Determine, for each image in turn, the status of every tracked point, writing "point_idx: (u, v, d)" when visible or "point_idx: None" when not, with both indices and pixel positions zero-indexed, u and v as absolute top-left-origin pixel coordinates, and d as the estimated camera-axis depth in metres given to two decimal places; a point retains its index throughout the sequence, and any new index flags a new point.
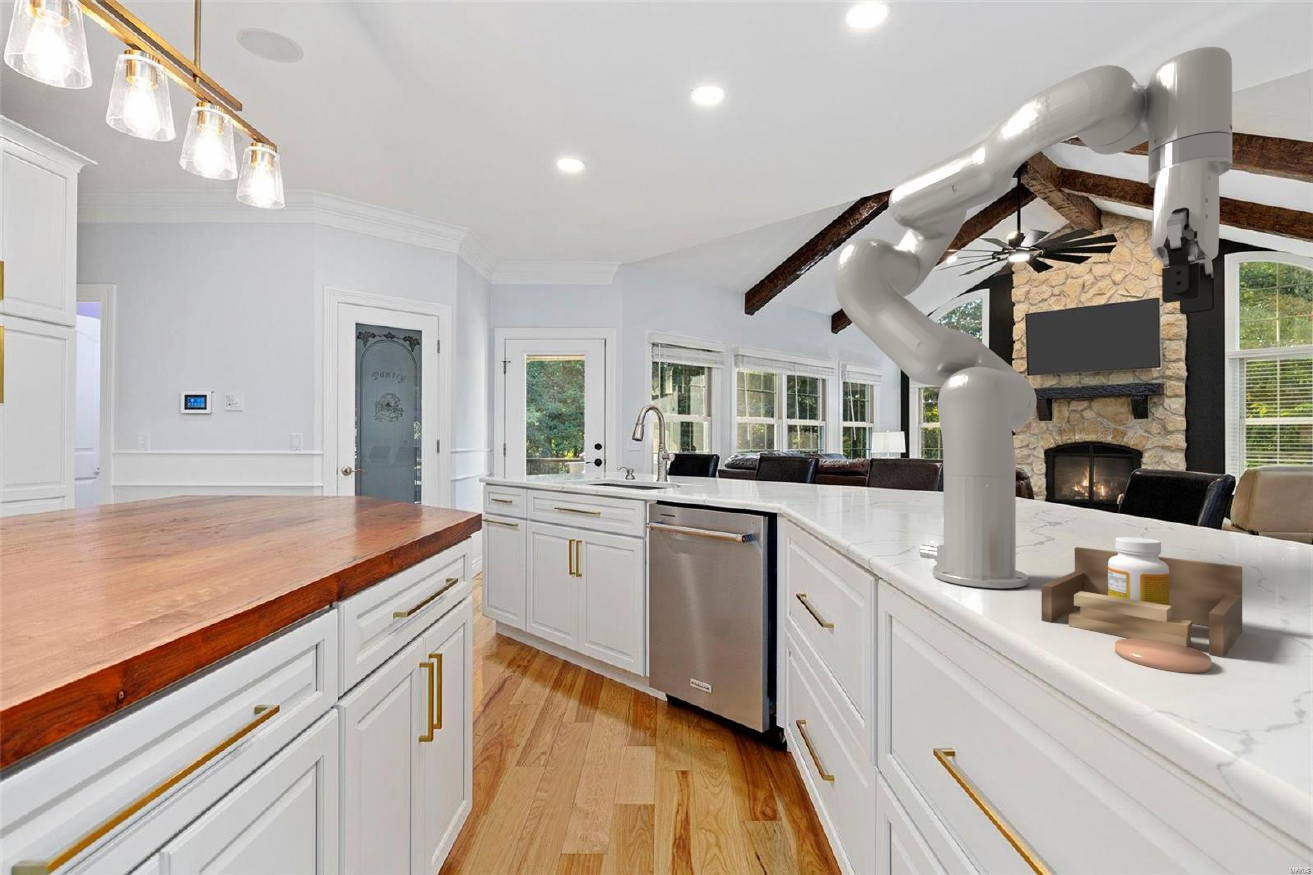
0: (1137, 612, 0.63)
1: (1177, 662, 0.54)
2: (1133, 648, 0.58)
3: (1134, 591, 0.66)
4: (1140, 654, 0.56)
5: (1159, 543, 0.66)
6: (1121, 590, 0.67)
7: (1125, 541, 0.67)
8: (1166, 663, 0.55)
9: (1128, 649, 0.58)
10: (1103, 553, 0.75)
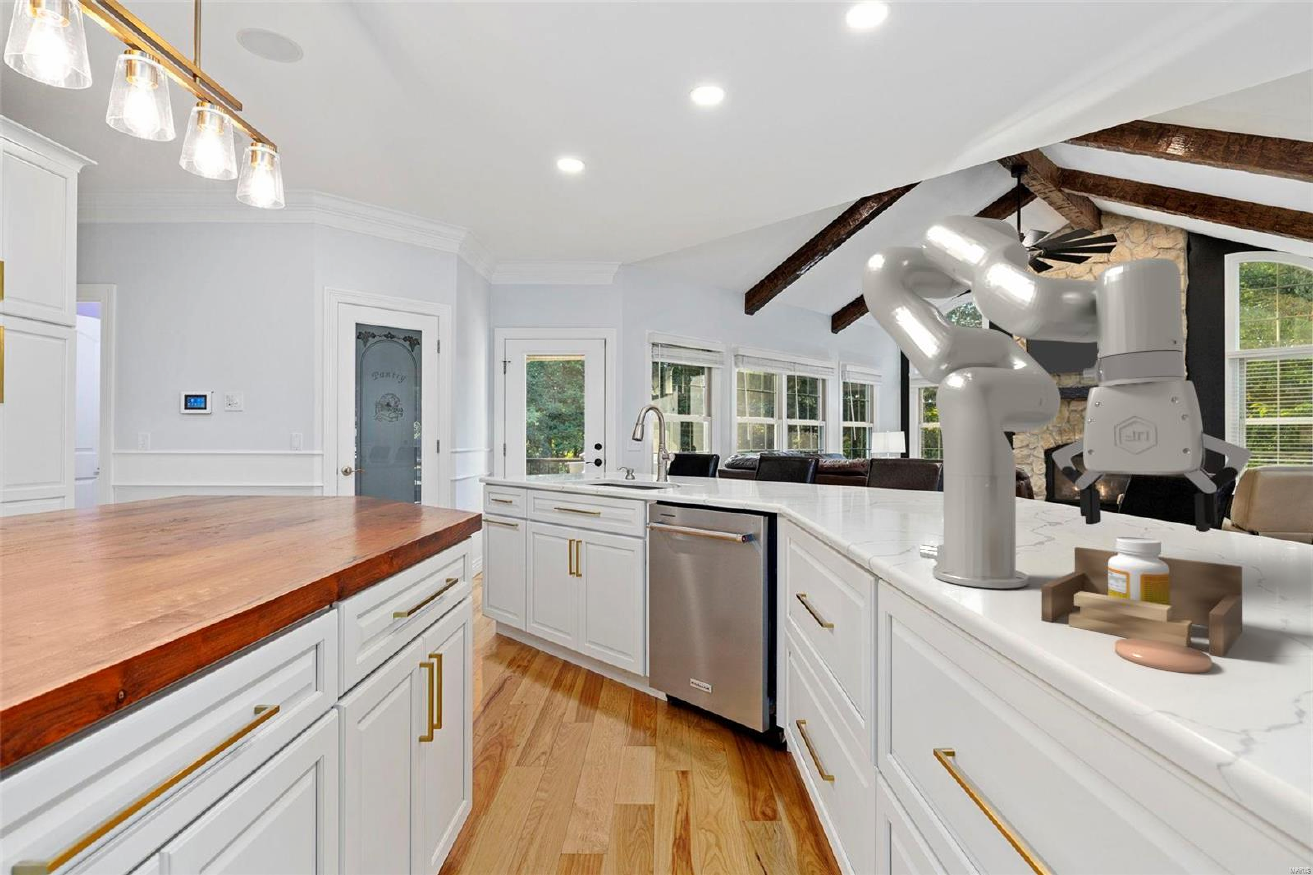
0: (1137, 612, 0.63)
1: (1177, 662, 0.54)
2: (1133, 648, 0.58)
3: (1134, 591, 0.66)
4: (1140, 654, 0.56)
5: (1159, 543, 0.66)
6: (1121, 590, 0.67)
7: (1125, 541, 0.67)
8: (1166, 663, 0.55)
9: (1128, 649, 0.58)
10: (1103, 553, 0.75)
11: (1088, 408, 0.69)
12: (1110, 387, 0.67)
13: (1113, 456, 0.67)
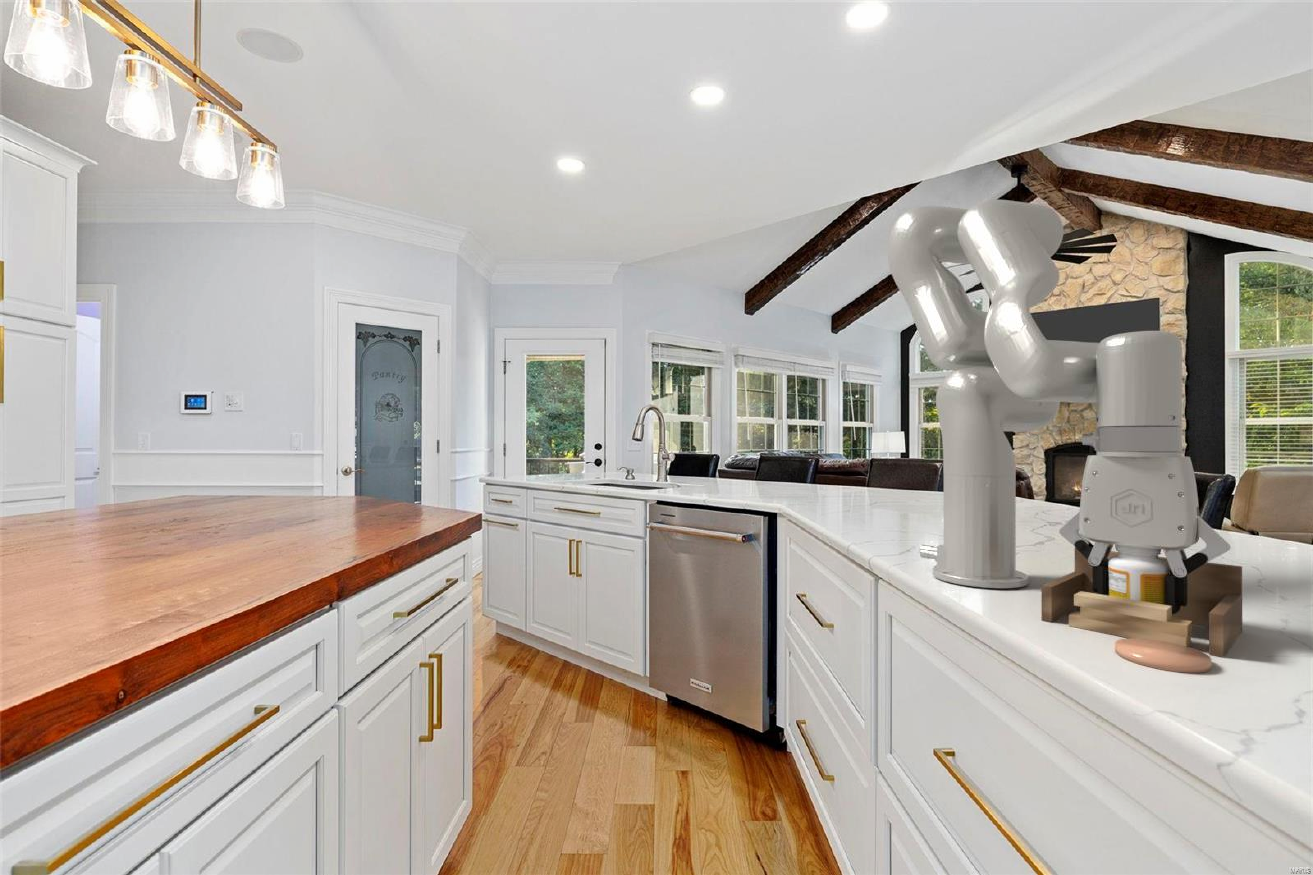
0: (1137, 612, 0.63)
1: (1177, 662, 0.54)
2: (1133, 648, 0.58)
3: (1134, 591, 0.66)
4: (1140, 654, 0.56)
5: None
6: (1121, 590, 0.67)
7: None
8: (1166, 663, 0.55)
9: (1128, 649, 0.58)
10: None
11: (1085, 476, 0.69)
12: (1108, 457, 0.68)
13: (1108, 526, 0.67)
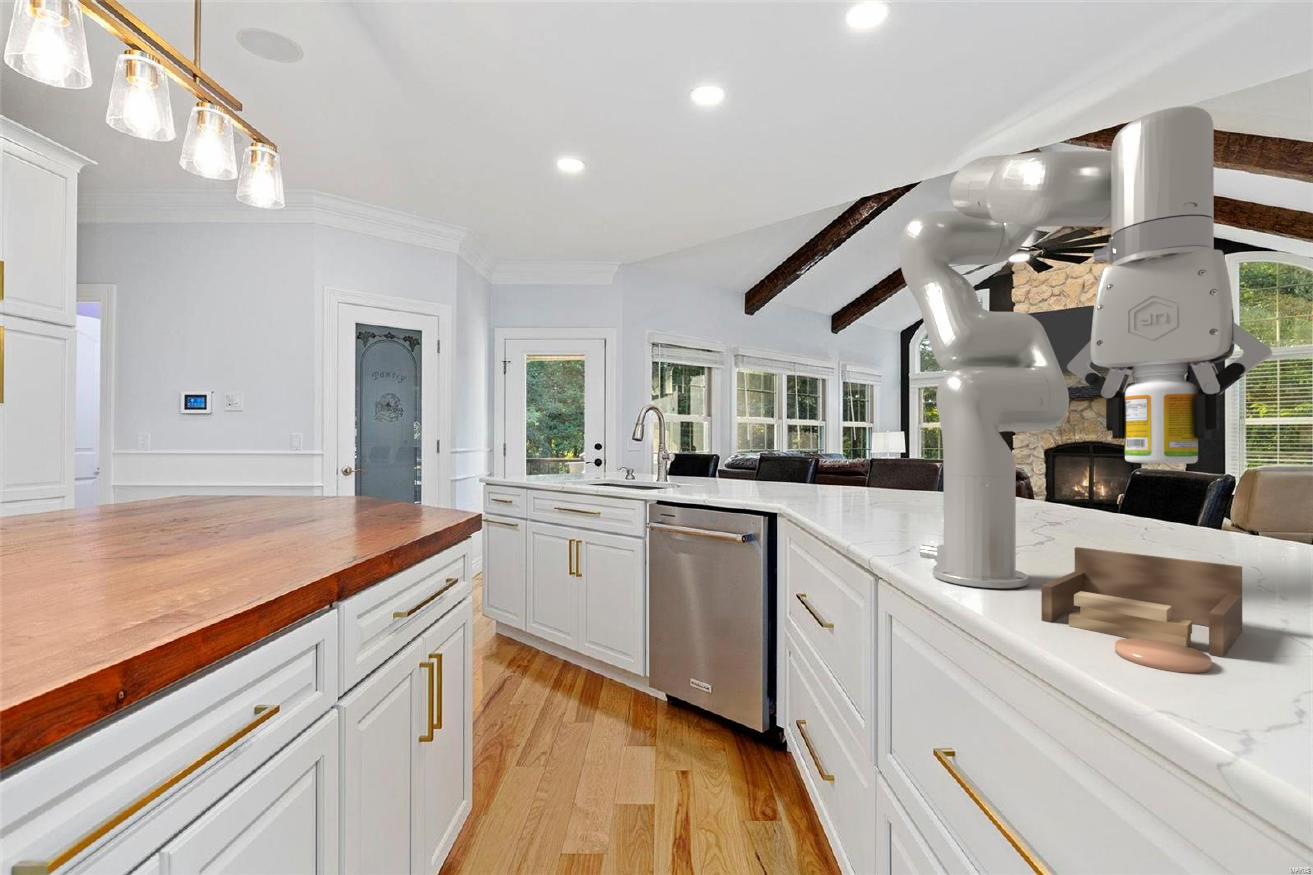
0: (1137, 612, 0.63)
1: (1177, 662, 0.54)
2: (1133, 648, 0.58)
3: (1157, 416, 0.56)
4: (1140, 654, 0.56)
5: None
6: (1141, 417, 0.57)
7: None
8: (1166, 663, 0.55)
9: (1128, 649, 0.58)
10: (1103, 553, 0.75)
11: (1098, 292, 0.59)
12: (1125, 265, 0.58)
13: (1126, 345, 0.57)
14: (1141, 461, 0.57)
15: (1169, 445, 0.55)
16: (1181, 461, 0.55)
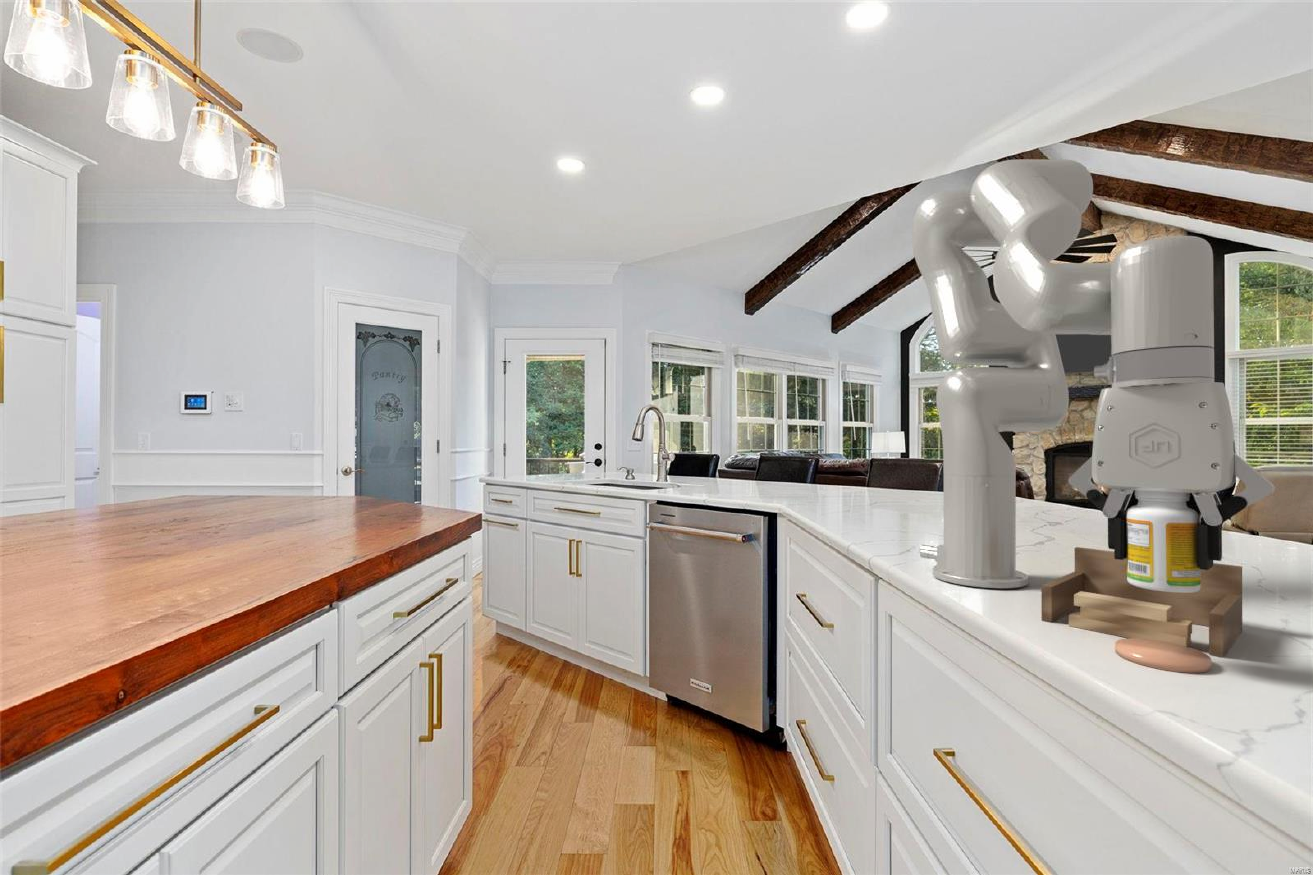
0: (1137, 612, 0.63)
1: (1177, 662, 0.54)
2: (1133, 648, 0.58)
3: (1159, 544, 0.55)
4: (1140, 654, 0.56)
5: None
6: (1143, 543, 0.57)
7: None
8: (1166, 663, 0.55)
9: (1128, 649, 0.58)
10: (1103, 553, 0.75)
11: (1099, 412, 0.59)
12: (1126, 388, 0.58)
13: (1127, 469, 0.57)
14: (1143, 587, 0.57)
15: (1171, 575, 0.55)
16: (1184, 591, 0.55)
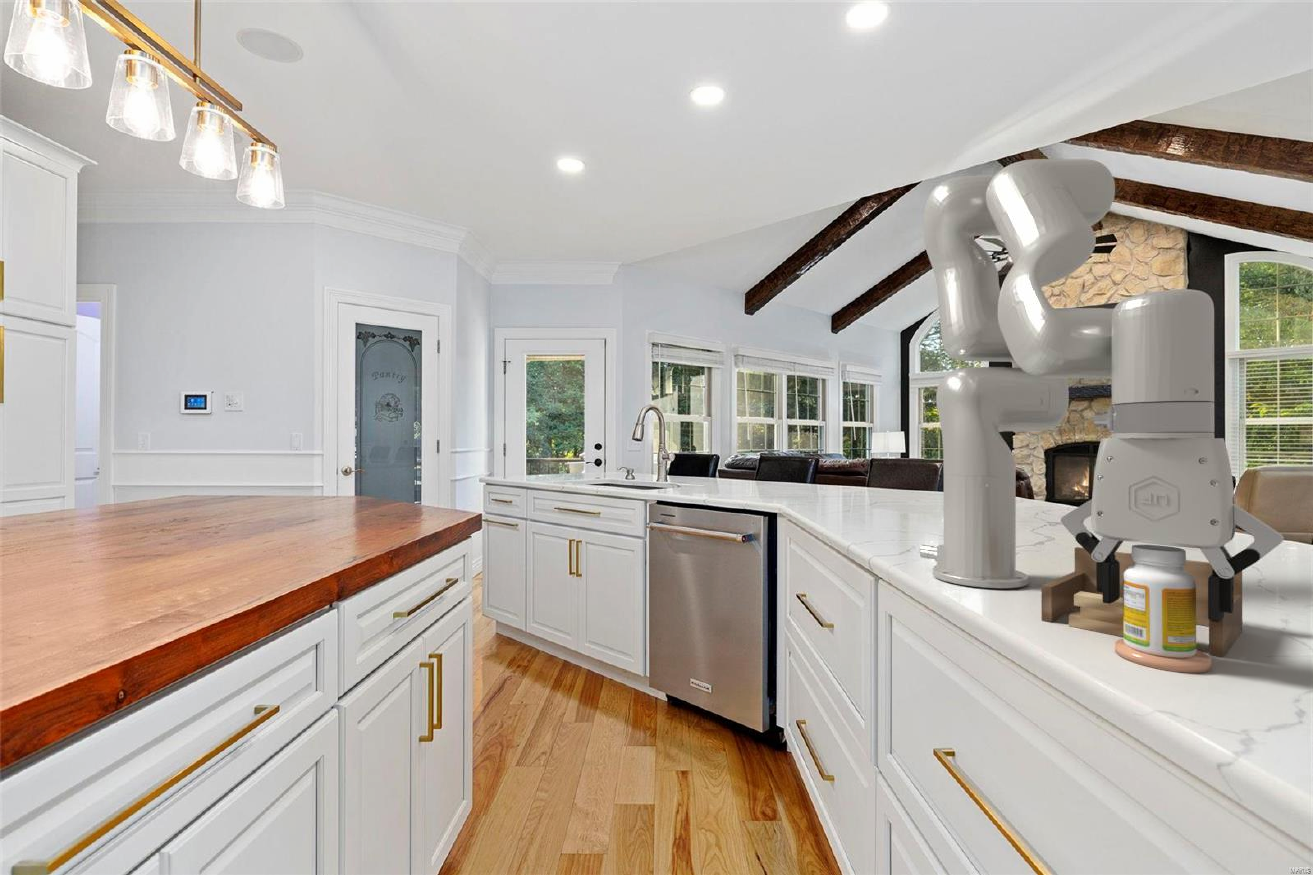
0: None
1: (1177, 662, 0.54)
2: None
3: (1155, 609, 0.56)
4: (1140, 654, 0.56)
5: (1184, 552, 0.56)
6: (1139, 607, 0.57)
7: (1143, 550, 0.57)
8: (1166, 663, 0.55)
9: (1128, 649, 0.58)
10: None
11: (1099, 462, 0.59)
12: (1125, 440, 0.58)
13: (1126, 521, 0.57)
14: (1139, 650, 0.57)
15: (1167, 640, 0.55)
16: (1179, 656, 0.55)
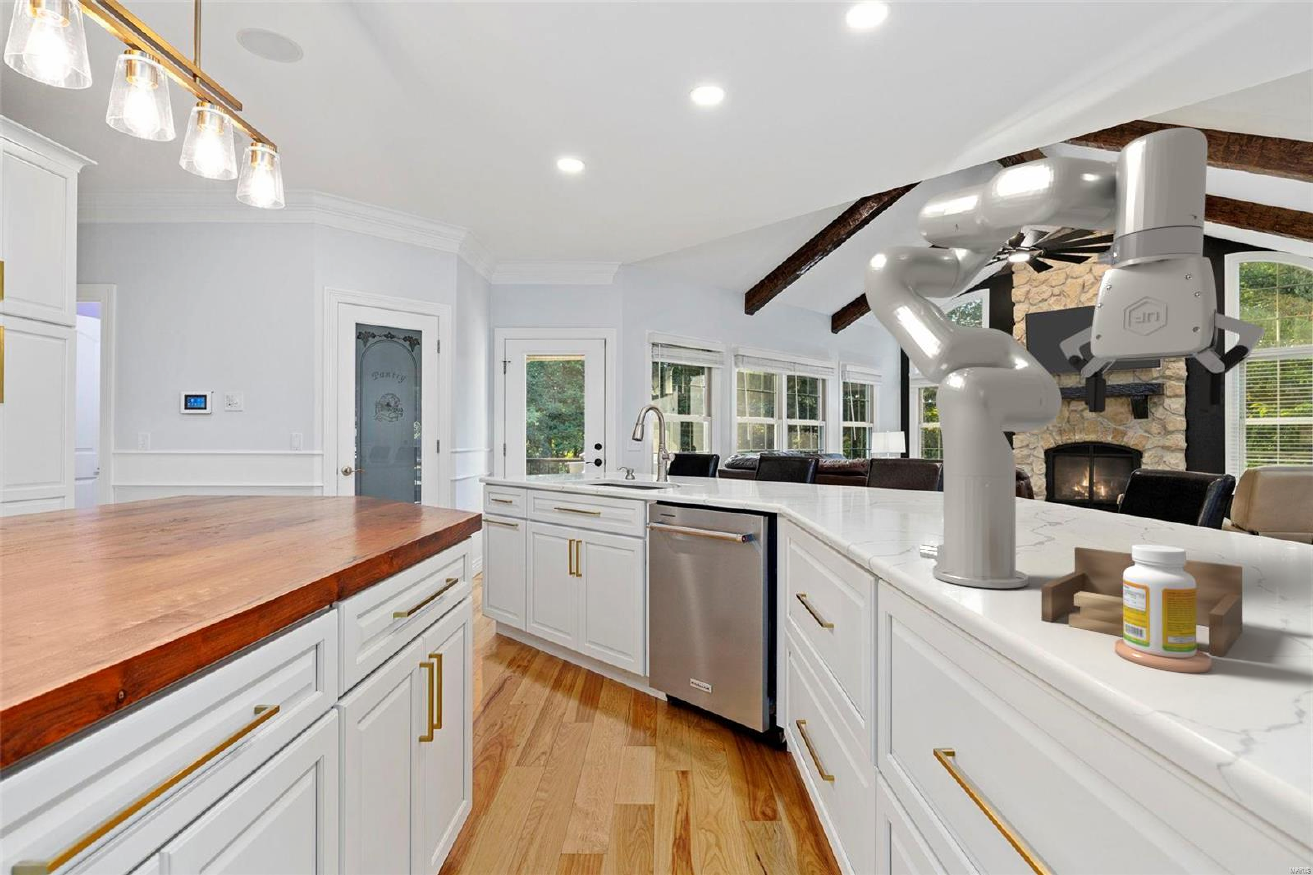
0: None
1: (1177, 662, 0.54)
2: None
3: (1155, 609, 0.56)
4: (1140, 654, 0.56)
5: (1184, 552, 0.56)
6: (1139, 607, 0.57)
7: (1144, 550, 0.57)
8: (1166, 663, 0.55)
9: (1128, 649, 0.58)
10: (1103, 553, 0.75)
11: (1099, 292, 0.67)
12: (1123, 268, 0.66)
13: (1121, 340, 0.66)
14: (1139, 650, 0.57)
15: (1167, 640, 0.55)
16: (1179, 656, 0.55)
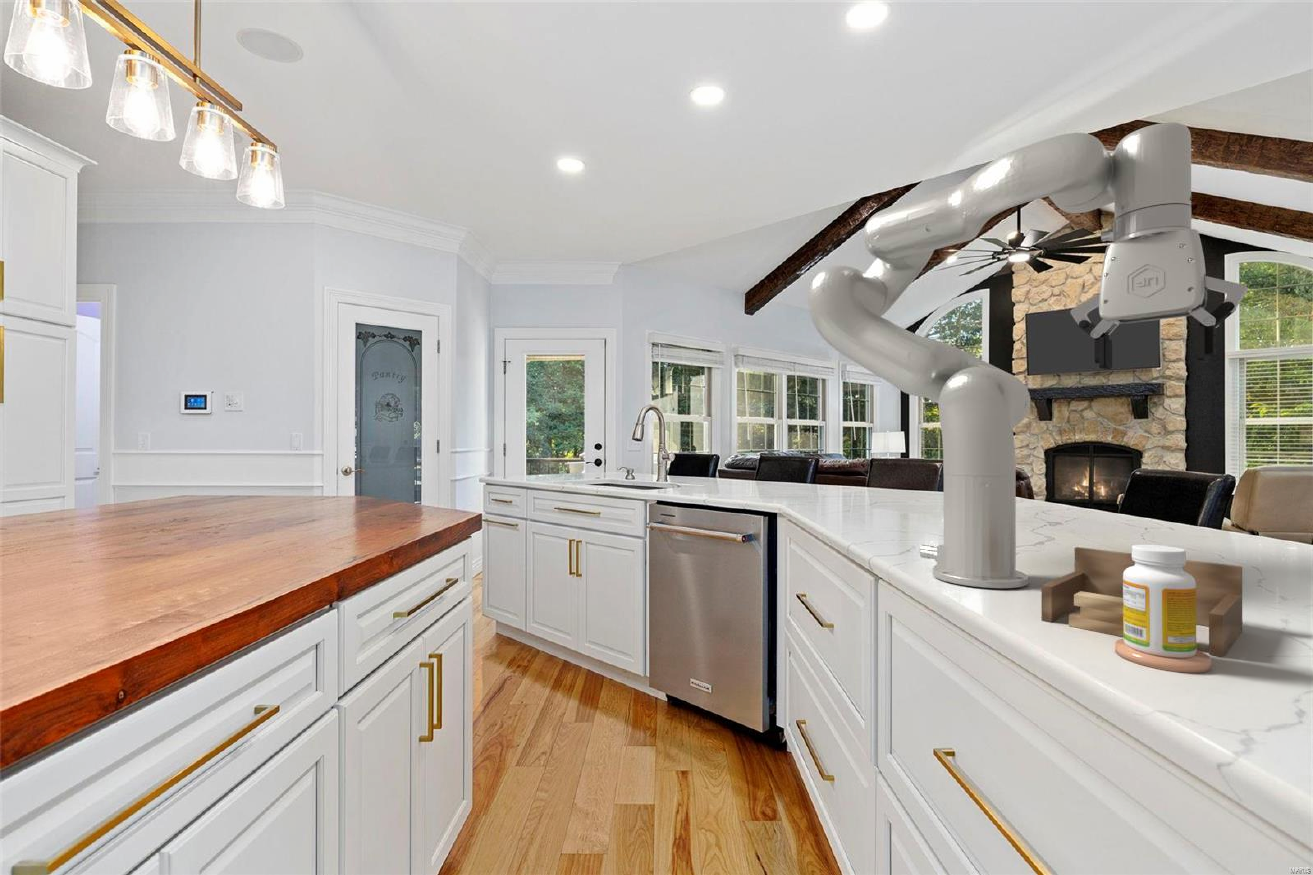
0: None
1: (1177, 662, 0.54)
2: None
3: (1155, 609, 0.56)
4: (1140, 654, 0.56)
5: (1184, 552, 0.56)
6: (1139, 607, 0.57)
7: (1144, 550, 0.57)
8: (1166, 663, 0.55)
9: (1128, 649, 0.58)
10: (1103, 553, 0.75)
11: (1104, 263, 0.78)
12: (1125, 242, 0.76)
13: (1126, 302, 0.76)
14: (1139, 650, 0.57)
15: (1167, 640, 0.55)
16: (1179, 656, 0.55)
